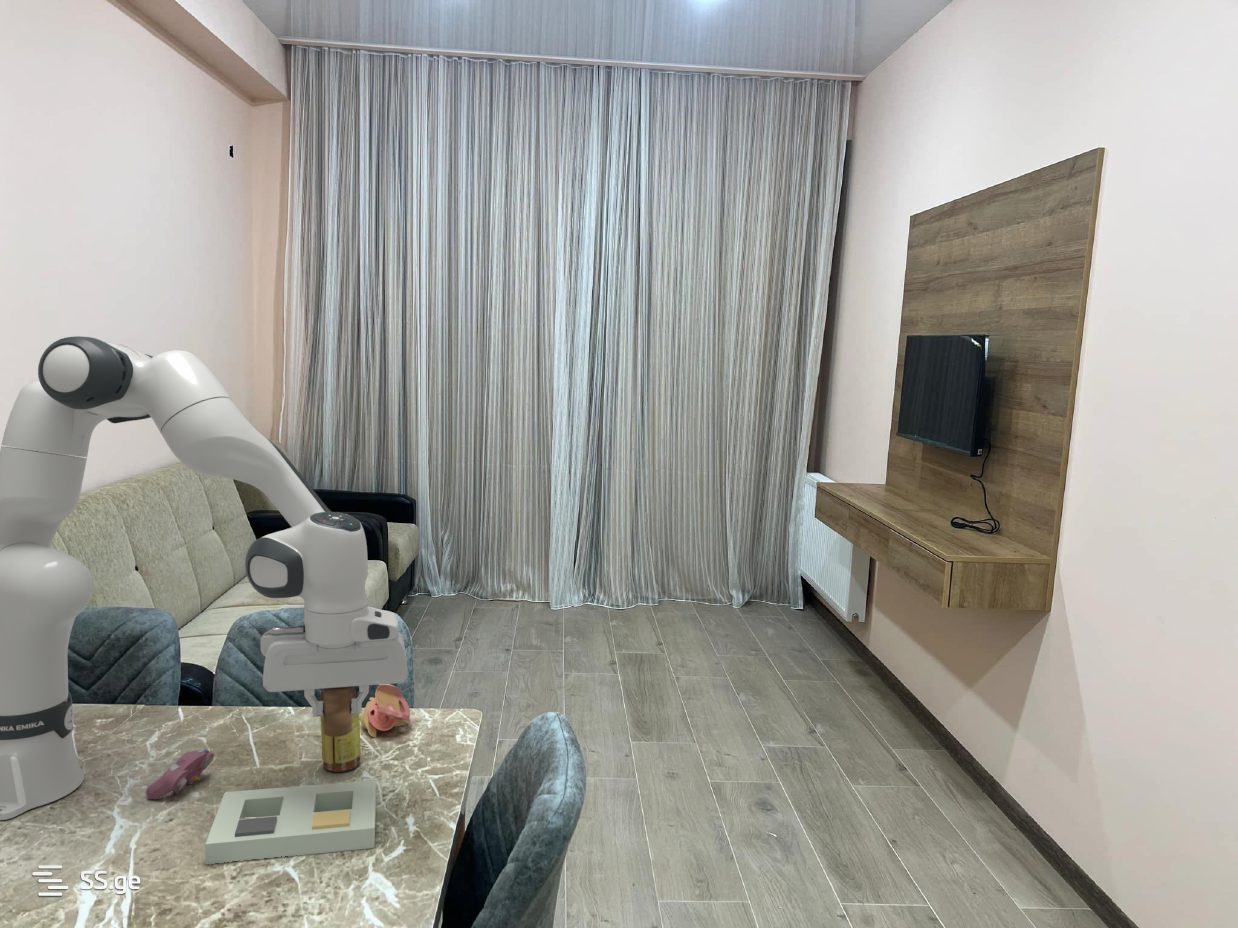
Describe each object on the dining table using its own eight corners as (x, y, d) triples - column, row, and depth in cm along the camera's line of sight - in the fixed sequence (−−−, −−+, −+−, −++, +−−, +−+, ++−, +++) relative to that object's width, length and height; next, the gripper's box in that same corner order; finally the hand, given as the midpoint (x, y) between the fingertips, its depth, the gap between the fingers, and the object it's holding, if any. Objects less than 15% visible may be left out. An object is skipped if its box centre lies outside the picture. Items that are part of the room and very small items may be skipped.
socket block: (205, 864, 117) (205, 840, 116) (224, 810, 130) (224, 788, 130) (374, 847, 123) (374, 824, 122) (376, 797, 136) (376, 776, 136)
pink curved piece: (164, 813, 132) (182, 777, 130) (140, 796, 132) (157, 760, 131) (206, 782, 141) (223, 748, 140) (184, 767, 142) (201, 733, 141)
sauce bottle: (366, 758, 149) (367, 647, 146) (351, 775, 143) (352, 660, 140) (329, 754, 149) (329, 644, 147) (313, 772, 143) (313, 657, 141)
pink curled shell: (347, 740, 156) (351, 690, 162) (391, 751, 163) (394, 702, 169) (379, 724, 152) (383, 673, 158) (423, 736, 159) (425, 687, 164)
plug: (322, 737, 126) (322, 692, 125) (324, 725, 130) (323, 681, 129) (351, 735, 127) (351, 690, 126) (352, 723, 131) (351, 679, 130)
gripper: (257, 635, 120) (259, 728, 122) (408, 627, 126) (408, 716, 128) (262, 620, 126) (264, 710, 128) (406, 613, 132) (406, 699, 134)
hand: (337, 713), depth 128 cm, fingers closed on plug, 4 cm apart
